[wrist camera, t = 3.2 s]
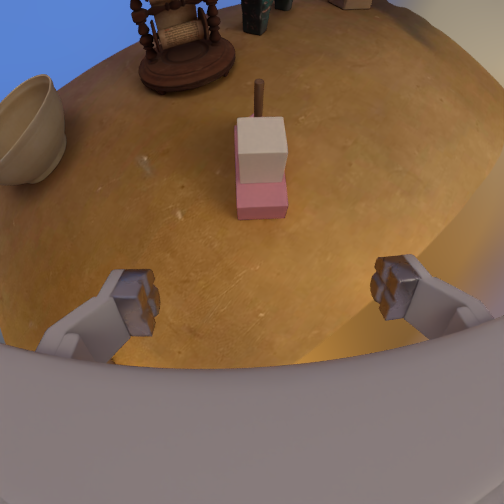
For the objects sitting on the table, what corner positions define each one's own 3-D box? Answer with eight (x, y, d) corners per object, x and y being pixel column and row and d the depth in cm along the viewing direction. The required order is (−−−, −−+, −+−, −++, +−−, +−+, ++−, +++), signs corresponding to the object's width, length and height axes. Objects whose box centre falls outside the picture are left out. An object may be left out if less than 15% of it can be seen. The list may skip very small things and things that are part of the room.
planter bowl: (16, 146, 32) (-17, 115, 21) (85, 101, 33) (58, 58, 23) (8, 223, 28) (-39, 196, 18) (86, 175, 30) (41, 128, 19)
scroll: (221, 38, 37) (214, -56, 17) (248, 82, 33) (248, -42, 14) (140, 61, 36) (109, -29, 16) (147, 111, 32) (99, -7, 13)
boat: (284, 218, 28) (303, 161, 18) (238, 220, 28) (231, 162, 18) (274, 128, 31) (282, 59, 21) (235, 129, 31) (230, 60, 21)
